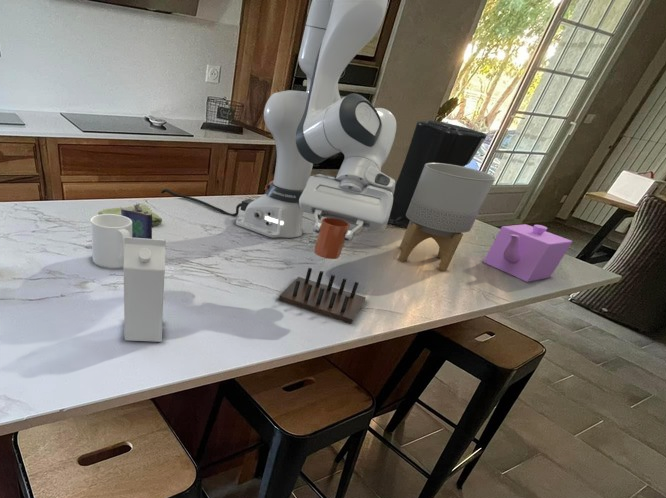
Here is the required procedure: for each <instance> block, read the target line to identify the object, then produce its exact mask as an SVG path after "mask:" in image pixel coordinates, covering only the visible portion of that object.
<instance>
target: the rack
mask: <svg viewBox="0 0 666 498" xmlns="http://www.w3.org/2000/svg"><path fill="white" fill-rule="evenodd" d="M312 271H313V268H312V267H308V268H307V271H306V275H305V277H301V276H297V277H296V278H295V279H294V281H292V282H291V283H290V284H289V285H288V286H287V288H285V289H284V291H282V293H280V294H279V297H278V301H281V302H284V303H287V304H289V305H293V306H295V307H299V308H301V309H305V310H307V311H310V312H314V313H317V314H320V315H323V316H326V317H329V318H332V319H334V320H339V321H341V322H344V323H348V324H350V325H352V324H353V322H354V321H355V319H356V318H357V315H358V314H359V312H360V310H361V308H362V306H363V305H364V303H365V301H366V296H362V295H360V294H356V293H357V291H358V287H359V284H360V282H359V281H354V284H353V286H352V289H351V292H350V291H347V290H345V287H346V284H347V281H348V278H346V277H343V278H342V280H341V283H340V286H339V288H336V287H334V286H333V284H334V281H335V277H336V274H334V273H332V274H330V277H329V281H328V284H324V283H321V282H322V279H323V276H324V271H323V270H319V272H318V276H317V279H316V281H314V280H311V276H312V275H311V274H312Z"/></svg>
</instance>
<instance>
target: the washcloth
mask: <svg viewBox="0 0 666 498" xmlns="http://www.w3.org/2000/svg"><path fill="white" fill-rule="evenodd" d="M139 207H140V208H142V210H144V211H145V210H146V211H148V212H149V213H151V214H152V227H154V226H159V225H160V224H162V223H163V218H162V217H160V216H159V215H158V214H157V213H156V212H153V211H152V209H151V208H150V207H149V206H148V205H146V204H142V205H141V204H140V205H139ZM122 208H131V209H135V207H134V206H130V205H129V206H124V207H121V206H120V207H112V208H103V209H101V210H100V211H98V212H97V215H101V214H116V215H121V209H122Z"/></svg>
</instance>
